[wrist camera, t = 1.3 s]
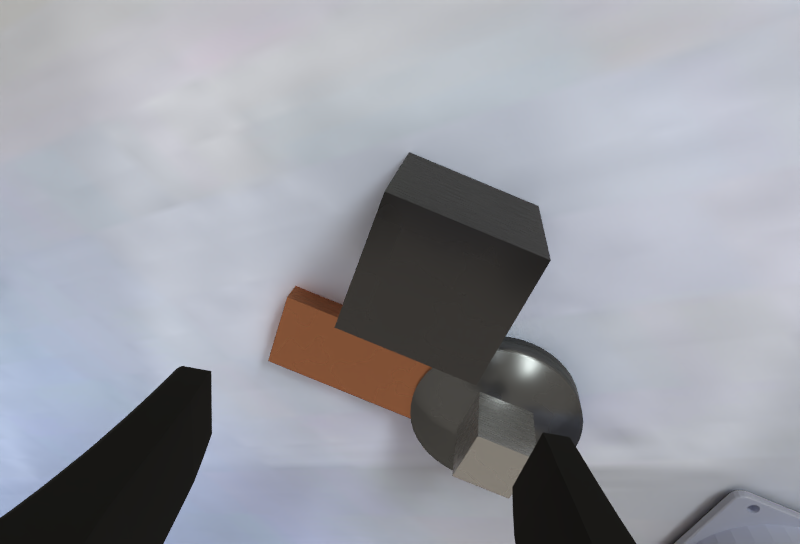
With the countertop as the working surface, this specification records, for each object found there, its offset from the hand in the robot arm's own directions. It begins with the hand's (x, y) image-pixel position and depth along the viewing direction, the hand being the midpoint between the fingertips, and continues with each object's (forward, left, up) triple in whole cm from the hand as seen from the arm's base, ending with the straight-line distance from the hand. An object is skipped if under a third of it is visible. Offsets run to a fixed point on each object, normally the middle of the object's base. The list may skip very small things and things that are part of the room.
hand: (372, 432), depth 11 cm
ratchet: (-2, +6, -10) cm, 12 cm away
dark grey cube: (-1, -1, -10) cm, 10 cm away
